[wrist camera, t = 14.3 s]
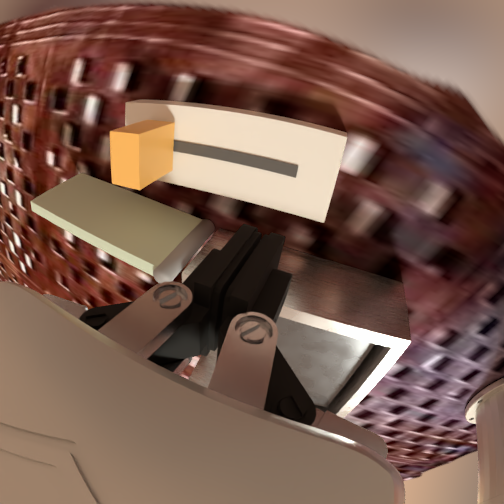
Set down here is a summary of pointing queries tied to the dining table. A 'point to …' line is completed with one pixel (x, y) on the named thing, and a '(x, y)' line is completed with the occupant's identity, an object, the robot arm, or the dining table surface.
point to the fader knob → (141, 153)
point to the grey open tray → (329, 327)
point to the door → (125, 224)
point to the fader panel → (249, 154)
